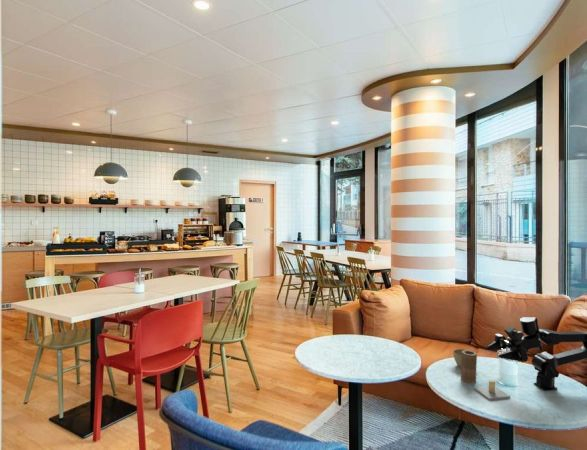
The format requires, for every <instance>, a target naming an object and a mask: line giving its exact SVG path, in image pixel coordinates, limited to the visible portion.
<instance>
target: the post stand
mask: <svg viewBox="0 0 587 450" xmlns="http://www.w3.org/2000/svg"><path fill="white" fill-rule="evenodd" d="M473 390H474V391H476V392H477V393H479V394H480V395H481V396H482V397H483V398H485V399H486V400H488V401H498V400H505V399H506V400H507V399H511V395H509V394H507V393H506V392H505V391H503V390H502V389H501V388H498V387H497V386H496V381H495V380H491V379H490V380H488V385H484V386H483V385H482V386H475V387H473Z"/></svg>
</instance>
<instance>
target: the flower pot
mask: <svg viewBox="0 0 587 450" xmlns="http://www.w3.org/2000/svg"><path fill="white" fill-rule="evenodd" d="M463 350H467V349H464V348H455V349H453V351H452V354H453V358H454V362H455V364H456V365H457V367H458V368H461V362H462V351H463Z"/></svg>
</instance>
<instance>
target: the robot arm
mask: <svg viewBox="0 0 587 450" xmlns="http://www.w3.org/2000/svg"><path fill="white" fill-rule="evenodd" d="M519 321H520V327H521V330H518V329H517V328H514V327H513V326H511V325H509V326H508V327H506V328H505V329H504V333H505V334H506V335H507V337H506V336H504V335H502V334H500V333H495V334H494V340H493V341H492V342H491V343H489V344H488V345H487V346H486V350H488V351H489V350H490V351H502V350H506V349H507V348H508V349H509V350H507V351H504V352H501V353H500V354H498V356H497V357H498V358H499V359H504V360H510V361H517V362H519V363H520V362H521V363H526V362H527V361H528V360H529V356H528V352H530V351H529V350H531V349H534V348H535V349H536V350H538V351H539V352H540V353H536V355H534V356H532V359H531V365H532V366H533V368H534V370H536V371H537V373H536V381H535V382H534V383H533V385H535V386H536V387H538V388H540V389H542V390H544V391H551V390H552V391H553V390H558V387H557V386H555V381H556V380H555V378H558V377H559V375H560V372H559V371H558V370H557V369H558V368H559V367H561V366H564V365H567V364H571V363H575V362H579V361H583V360H586V359H587V331H585V330H580V331H555V330H551V329H546V328H539V323H538V318H537V317H535V316H532V317H530V316H526V317H525V316H522V317H521V318H519ZM524 334H525V335H524ZM507 340H508V341H507ZM542 343H543V344H545V345H547V346H556V345H559V344H560V343H581V344H582V345H581V347H579V348H575V349H571V350H567V351H562V352H559V353H555V354H550V353H548V352H547V351H543V348H544V345H543V344H542ZM501 348H503V349H501ZM542 351H543V352H542Z"/></svg>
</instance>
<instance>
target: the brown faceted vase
mask: <svg viewBox="0 0 587 450" xmlns="http://www.w3.org/2000/svg"><path fill="white" fill-rule="evenodd" d="M477 358H478V353H477V352H475V351H474V350H469V349H466V350H463V351H462V362H461V369H460V371H461V372H460V380H461V381H462V382H463V383H466V384H476V381H477V363H478V362H477V360H478V359H477Z"/></svg>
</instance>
